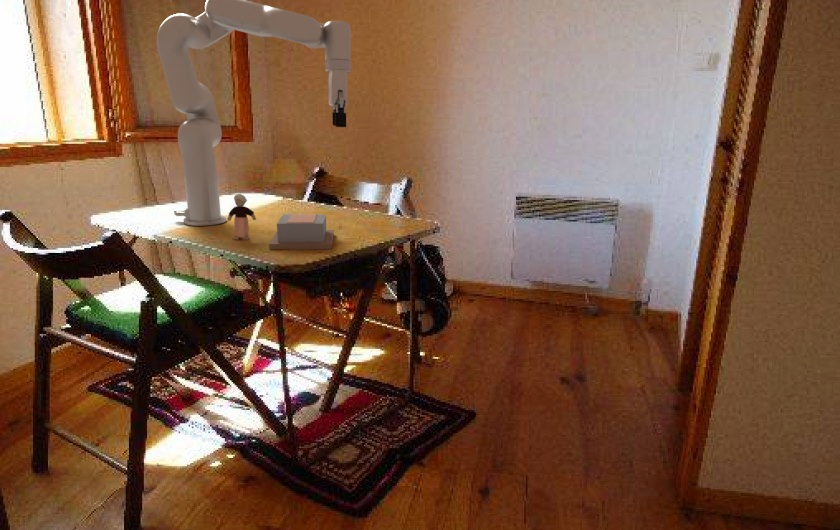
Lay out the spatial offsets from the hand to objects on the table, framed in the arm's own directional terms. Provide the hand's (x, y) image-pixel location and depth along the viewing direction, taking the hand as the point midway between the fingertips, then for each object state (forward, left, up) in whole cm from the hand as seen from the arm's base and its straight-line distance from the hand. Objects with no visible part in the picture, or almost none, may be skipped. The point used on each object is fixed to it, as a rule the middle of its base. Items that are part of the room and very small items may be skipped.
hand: (339, 126), depth 165 cm
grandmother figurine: (-27, -20, -30) cm, 45 cm away
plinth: (-10, -24, -30) cm, 40 cm away
